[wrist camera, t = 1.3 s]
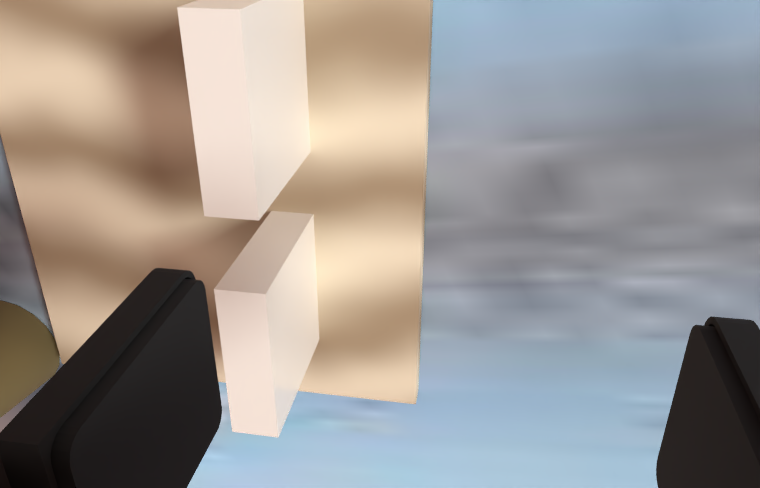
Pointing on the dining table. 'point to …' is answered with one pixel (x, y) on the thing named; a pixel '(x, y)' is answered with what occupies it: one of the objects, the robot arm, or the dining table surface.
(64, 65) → the birch board
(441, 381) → the dining table surface
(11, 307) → the cork
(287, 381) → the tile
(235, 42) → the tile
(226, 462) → the dining table surface
